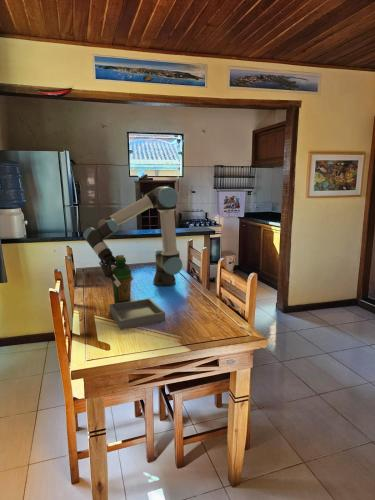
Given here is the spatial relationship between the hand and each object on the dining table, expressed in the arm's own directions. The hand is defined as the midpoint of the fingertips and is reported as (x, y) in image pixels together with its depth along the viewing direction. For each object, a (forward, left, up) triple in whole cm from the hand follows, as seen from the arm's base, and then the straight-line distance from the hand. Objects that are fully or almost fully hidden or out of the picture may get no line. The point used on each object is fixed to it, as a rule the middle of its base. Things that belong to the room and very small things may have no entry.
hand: (125, 282), depth 175 cm
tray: (0, +18, -13) cm, 22 cm away
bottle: (+2, -2, -13) cm, 14 cm away
